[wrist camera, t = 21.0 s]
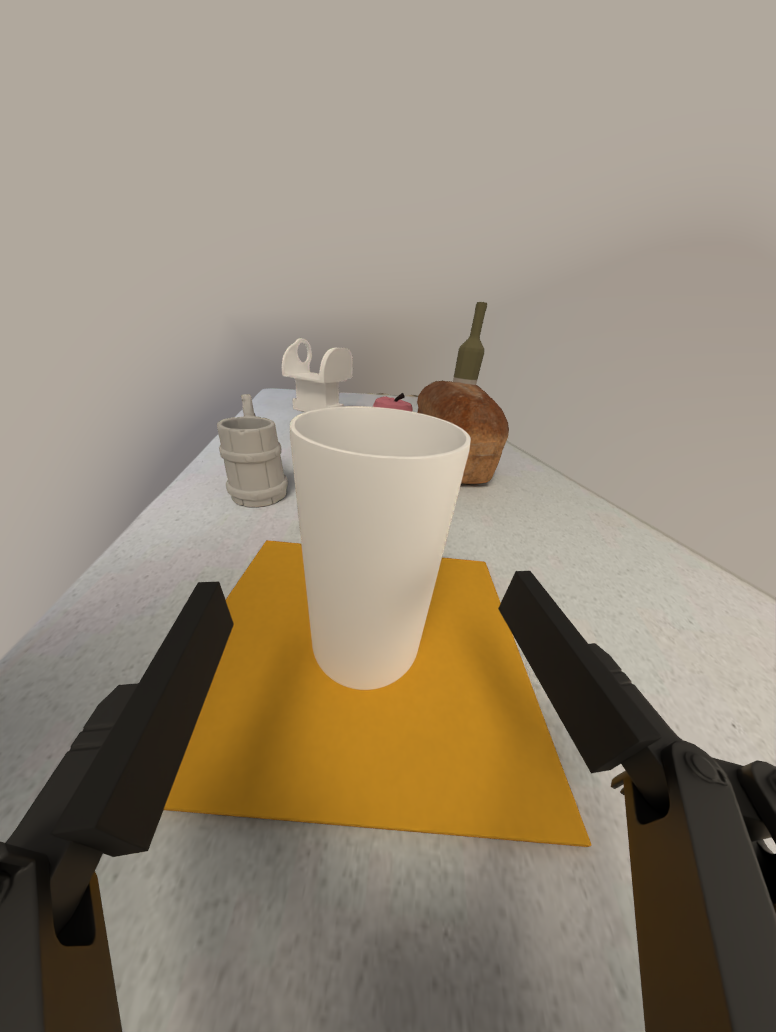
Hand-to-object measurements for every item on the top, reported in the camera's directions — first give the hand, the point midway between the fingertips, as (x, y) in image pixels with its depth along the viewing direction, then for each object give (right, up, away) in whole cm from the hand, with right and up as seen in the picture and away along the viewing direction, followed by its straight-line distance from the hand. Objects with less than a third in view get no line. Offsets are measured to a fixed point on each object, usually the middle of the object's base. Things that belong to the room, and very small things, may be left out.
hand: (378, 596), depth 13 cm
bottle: (+22, +33, +74) cm, 84 cm away
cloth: (-1, -6, +9) cm, 11 cm away
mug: (-18, +8, +27) cm, 34 cm away
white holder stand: (-20, +35, +69) cm, 80 cm away
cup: (-1, -6, +9) cm, 11 cm away
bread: (+12, +15, +45) cm, 49 cm away
